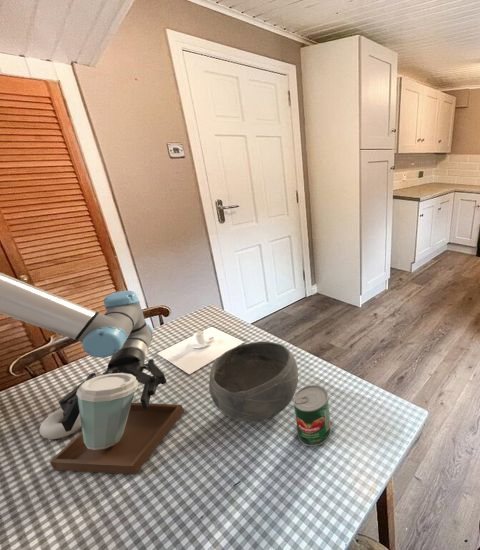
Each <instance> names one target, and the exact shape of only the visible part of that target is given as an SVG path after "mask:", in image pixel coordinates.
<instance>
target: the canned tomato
mask: <svg viewBox="0 0 480 550" xmlns="http://www.w3.org/2000/svg"><path fill="white" fill-rule="evenodd" d="M292 402H293V404H294V405H293V406H294V413H295V421H296V429H297V436H298V437H297V438H298V440H299V442H300V443H302V444H303V445H305V446H307V447H317V446H320V445H322V444H324V443H325V442H326V441H327V440H328V439H329V437H331V434H332V427H331V415H330V401H329V392H328V391H327V389H326V388H325V387H323V386H321V385H316V384H309V385H307V386H304V387H302V388H300V389H299V390H297V392H295V394H294V396H293V401H292Z"/></svg>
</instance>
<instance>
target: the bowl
mask: <svg viewBox="0 0 480 550" xmlns="http://www.w3.org/2000/svg"><path fill="white" fill-rule="evenodd" d="M208 382H209V383H208V388H209V389H208V390H209V395H210V398H211V400H212V402H213V403H214V405H215V407H216V408H217V409H218V410H219V411H220V412H221V413H223V414H224V415H225V416H227V417H230V418H231V419H234V420H237V421H241V422H260V421H265V420H268V419H270V418H273V417H274V416H276V415H278V414H280V413H281V412H282V411H284V409H286V407H288V405H289V404H290V403H291V402H292V399H294V396H295V394H296V391H297V388H298V383H299V367H298V364H297V361H296V359H295V357H294V354H293V353H292V351H290V349H288V347H287V346H285V345H283V344H281V343H277V342H271V341H263V340H262V341H255V342H249V343H244V344H240V345H238V346H237V347H235V348H233V349H230V350H228V351H226V352H225V353H224V354H222V355H221V356H220V357H218V358H216V359H215V360H214V362H213V364H212V366H211V368H210V371H209V381H208Z"/></svg>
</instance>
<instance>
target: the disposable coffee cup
mask: <svg viewBox="0 0 480 550" xmlns="http://www.w3.org/2000/svg"><path fill="white" fill-rule="evenodd" d="M84 381H85V380H84ZM138 386H139V382H138V381H137V380H136V377H135V376H133V375H132V374H126V373H114V374H106V375H101V376H97V377H94V378H92V379H89V380H87V381H85V382H84V383H83V384H82V385H81V386H80V387H79V389H78V390H77V393H76V395H77V396H78V403H79V410H80V418H81V425H82V428H81V432H82V433H83V440H84V443H85V445H86V447H87V448H88V449H92V450H100V449H106V448H108V447H111V446H113V445H115V444H116V443H117V442H119V441H120V439H121V437H122V435H123V432H124V428H125V425H126V421H127V418H128V414H129V411H130V407H131V403H133V399H134V396H135V392H136V391H137V389H138Z"/></svg>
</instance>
